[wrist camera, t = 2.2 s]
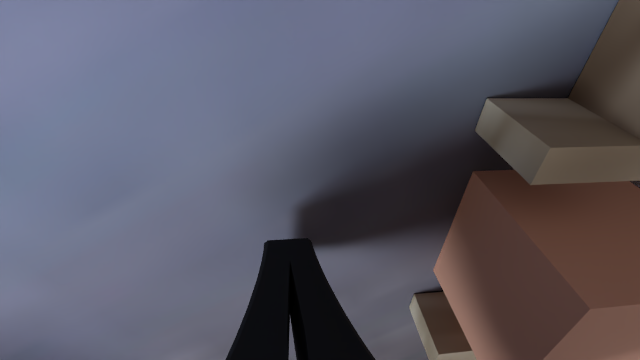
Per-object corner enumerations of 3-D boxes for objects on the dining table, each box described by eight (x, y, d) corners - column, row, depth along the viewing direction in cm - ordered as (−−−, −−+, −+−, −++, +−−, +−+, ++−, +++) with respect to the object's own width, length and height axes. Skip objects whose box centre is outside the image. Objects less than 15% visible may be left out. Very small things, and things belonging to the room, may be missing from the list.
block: (541, 260, 15) (644, 385, 11) (432, 268, 14) (499, 405, 10) (606, 165, 12) (784, 289, 8) (471, 169, 11) (590, 309, 7)
